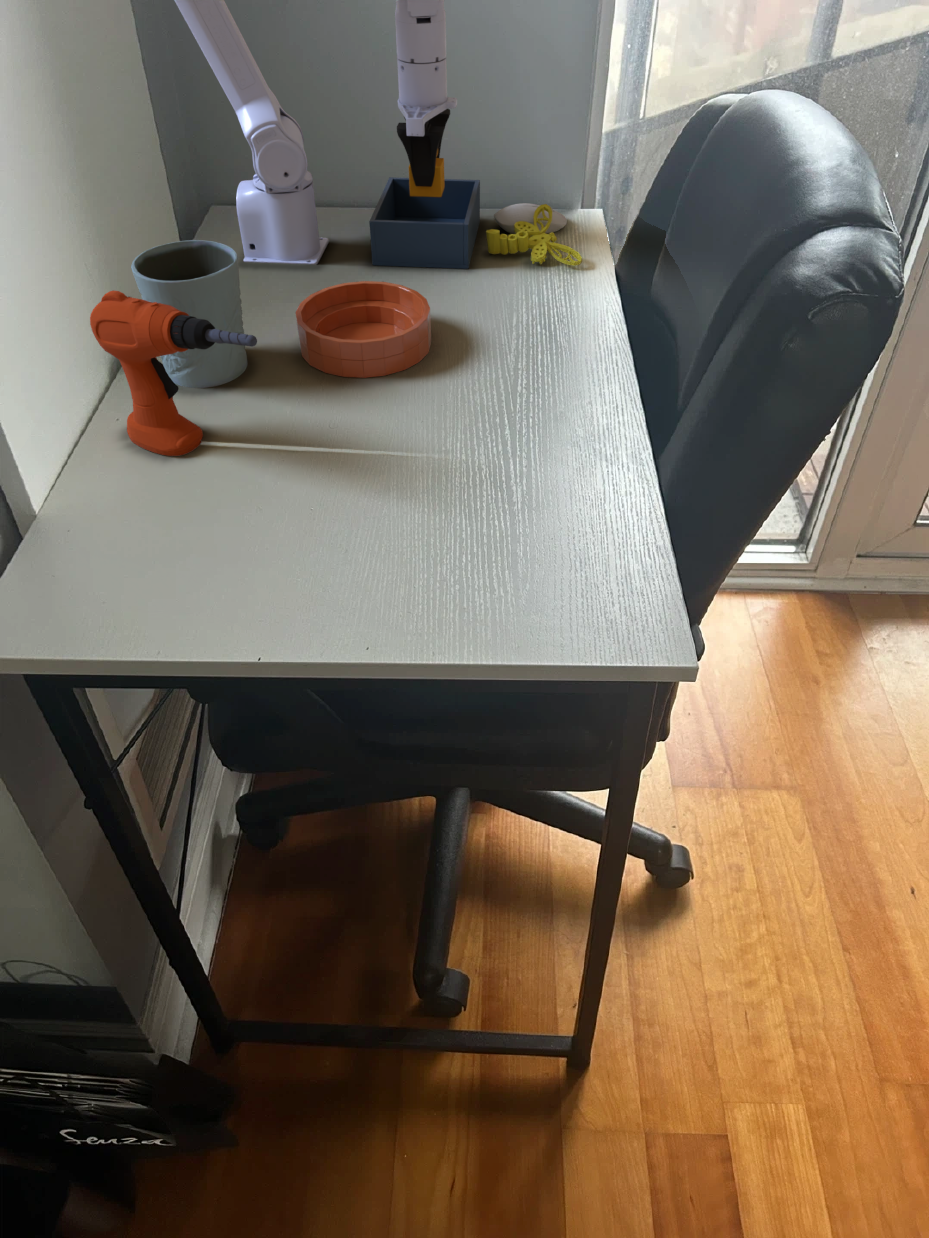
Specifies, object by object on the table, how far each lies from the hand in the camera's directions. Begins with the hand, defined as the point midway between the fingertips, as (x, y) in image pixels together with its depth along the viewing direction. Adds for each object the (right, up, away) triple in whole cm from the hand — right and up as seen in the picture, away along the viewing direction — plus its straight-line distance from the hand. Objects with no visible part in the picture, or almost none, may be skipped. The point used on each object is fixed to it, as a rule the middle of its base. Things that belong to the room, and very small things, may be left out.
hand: (426, 180), depth 118 cm
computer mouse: (+14, -2, +9) cm, 17 cm away
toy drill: (-20, -39, -29) cm, 53 cm away
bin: (0, -6, +6) cm, 8 cm away
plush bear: (0, -1, +1) cm, 2 cm away
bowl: (-6, -26, -15) cm, 30 cm away
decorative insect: (+13, -10, -1) cm, 16 cm away
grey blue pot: (-23, -29, -18) cm, 41 cm away
